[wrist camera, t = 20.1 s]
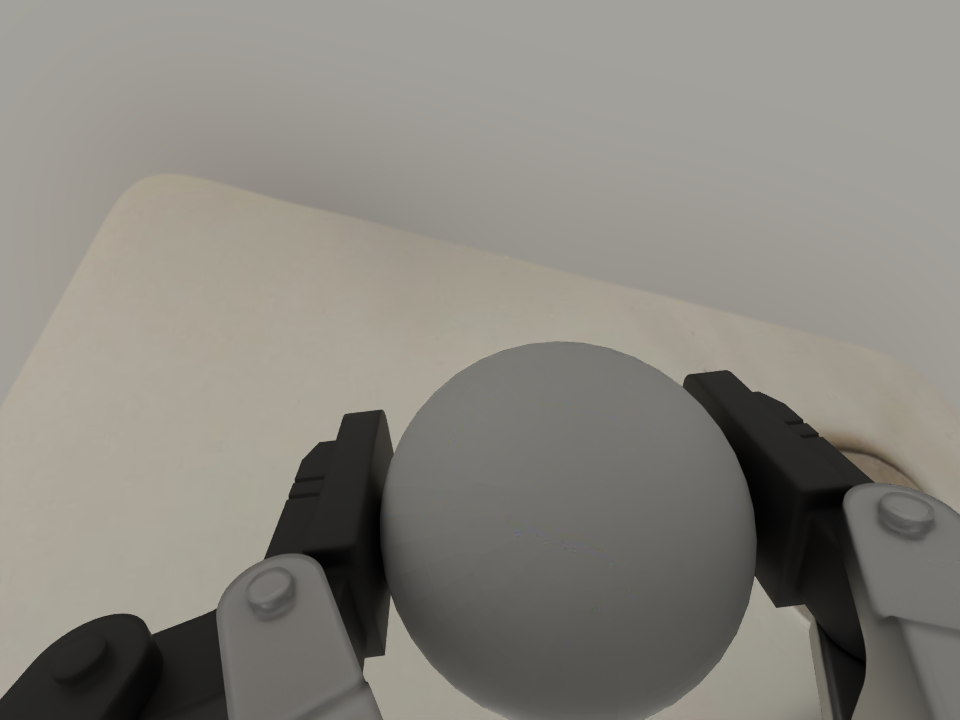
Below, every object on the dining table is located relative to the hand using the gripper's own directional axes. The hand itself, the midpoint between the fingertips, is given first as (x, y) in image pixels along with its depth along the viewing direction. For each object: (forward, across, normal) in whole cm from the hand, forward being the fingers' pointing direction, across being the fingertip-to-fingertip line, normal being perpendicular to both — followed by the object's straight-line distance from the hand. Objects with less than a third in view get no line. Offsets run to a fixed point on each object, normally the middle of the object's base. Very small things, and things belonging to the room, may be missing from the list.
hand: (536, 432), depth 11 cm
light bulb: (+3, 0, +5) cm, 6 cm away
